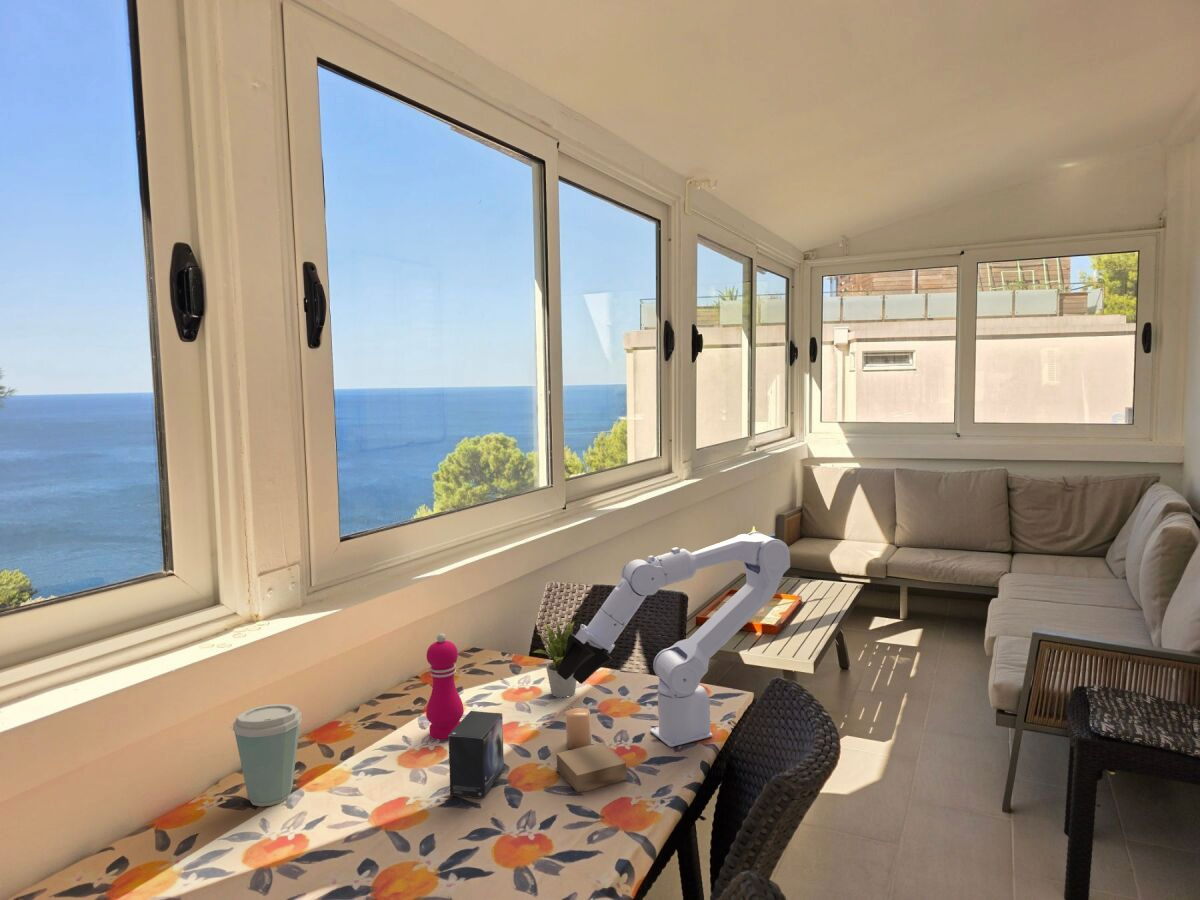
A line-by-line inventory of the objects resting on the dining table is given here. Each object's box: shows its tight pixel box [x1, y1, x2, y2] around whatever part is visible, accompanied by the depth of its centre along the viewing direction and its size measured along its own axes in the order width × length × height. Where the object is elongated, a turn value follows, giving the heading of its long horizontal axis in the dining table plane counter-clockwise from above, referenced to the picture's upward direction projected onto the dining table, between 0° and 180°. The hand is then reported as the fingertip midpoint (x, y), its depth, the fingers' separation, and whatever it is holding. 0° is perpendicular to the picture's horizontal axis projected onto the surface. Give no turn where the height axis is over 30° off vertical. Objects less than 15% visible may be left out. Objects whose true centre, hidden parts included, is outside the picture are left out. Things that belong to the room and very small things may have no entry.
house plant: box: [533, 619, 578, 698], centre depth 171 cm, size 14×14×16 cm
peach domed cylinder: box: [565, 707, 592, 750], centre depth 148 cm, size 5×5×6 cm
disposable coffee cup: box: [232, 703, 303, 807], centre depth 131 cm, size 11×11×15 cm
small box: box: [448, 710, 505, 799], centre depth 134 cm, size 11×6×10 cm, turn 168°
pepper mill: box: [425, 633, 465, 741], centre depth 154 cm, size 7×7×20 cm
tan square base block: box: [556, 742, 627, 794], centre depth 136 cm, size 9×9×3 cm
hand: (569, 678), depth 144 cm, fingers open, 7 cm apart
